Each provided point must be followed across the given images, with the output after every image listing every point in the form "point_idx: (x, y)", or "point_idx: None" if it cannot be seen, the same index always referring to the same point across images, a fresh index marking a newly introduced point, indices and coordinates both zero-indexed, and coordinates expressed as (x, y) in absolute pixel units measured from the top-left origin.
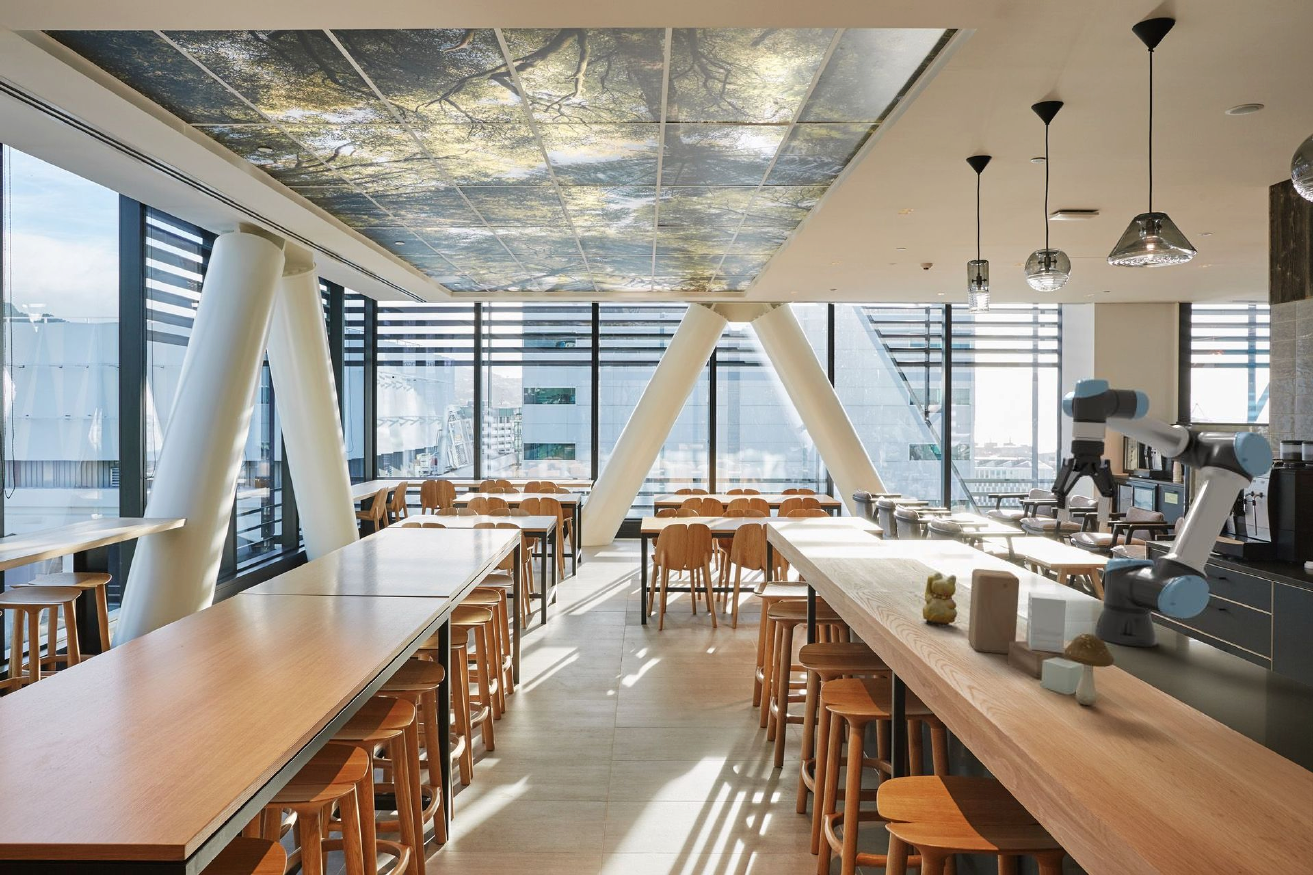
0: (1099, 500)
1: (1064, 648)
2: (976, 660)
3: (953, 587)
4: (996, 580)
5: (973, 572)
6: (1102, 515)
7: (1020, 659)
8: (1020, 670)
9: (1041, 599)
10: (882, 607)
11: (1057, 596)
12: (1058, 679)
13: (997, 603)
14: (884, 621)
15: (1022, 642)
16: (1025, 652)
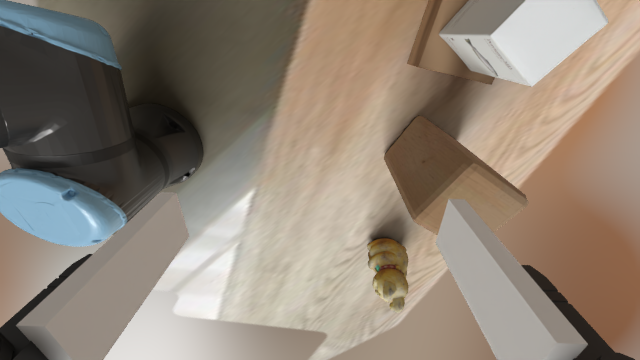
0: (109, 339)
1: (439, 18)
2: (500, 105)
3: (389, 276)
4: (505, 180)
5: None
6: (162, 235)
7: None
8: None
9: (596, 4)
10: (388, 306)
11: (534, 9)
12: None
13: (476, 157)
14: (442, 266)
15: (476, 72)
16: None
